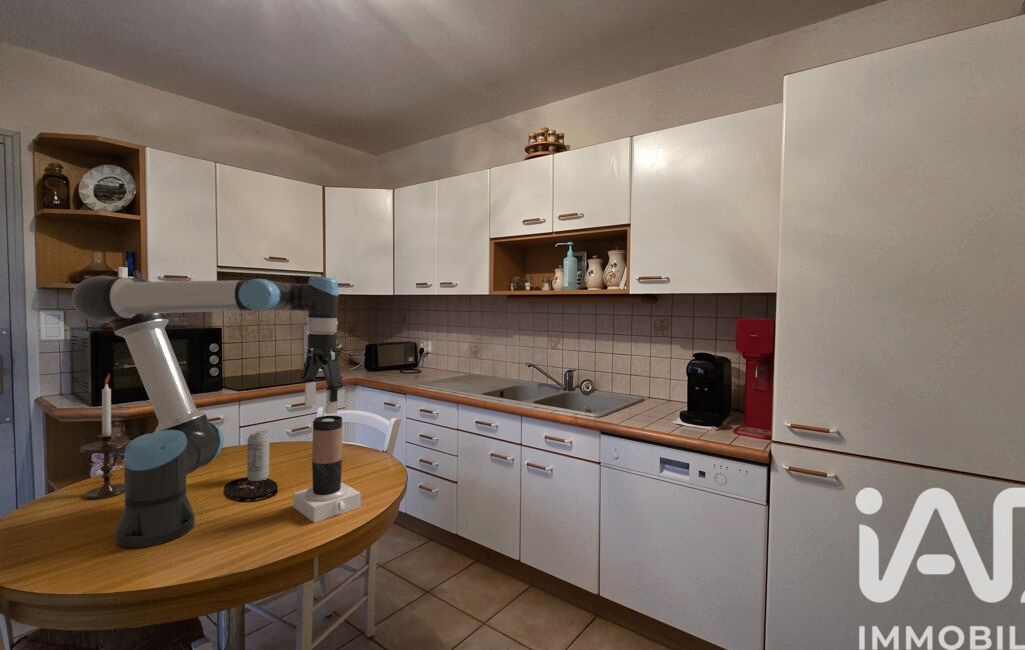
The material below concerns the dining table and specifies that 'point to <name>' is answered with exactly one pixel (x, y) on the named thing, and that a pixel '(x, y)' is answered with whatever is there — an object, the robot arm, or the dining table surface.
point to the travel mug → (327, 454)
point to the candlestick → (105, 451)
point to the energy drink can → (258, 456)
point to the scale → (326, 503)
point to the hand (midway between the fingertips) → (320, 409)
